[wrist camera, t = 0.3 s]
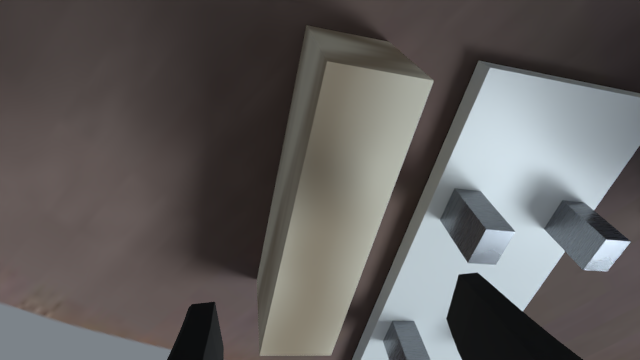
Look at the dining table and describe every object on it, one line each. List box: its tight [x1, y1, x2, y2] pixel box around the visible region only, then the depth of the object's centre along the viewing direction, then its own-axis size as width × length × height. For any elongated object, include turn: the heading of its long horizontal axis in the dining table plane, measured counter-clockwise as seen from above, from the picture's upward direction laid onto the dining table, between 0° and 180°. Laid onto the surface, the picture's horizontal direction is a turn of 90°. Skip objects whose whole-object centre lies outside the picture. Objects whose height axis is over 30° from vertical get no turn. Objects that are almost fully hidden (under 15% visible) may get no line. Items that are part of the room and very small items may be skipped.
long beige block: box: [257, 25, 434, 356], centre depth 18 cm, size 4×14×5 cm, turn 167°
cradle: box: [352, 61, 640, 360], centre depth 23 cm, size 10×24×4 cm, turn 167°
